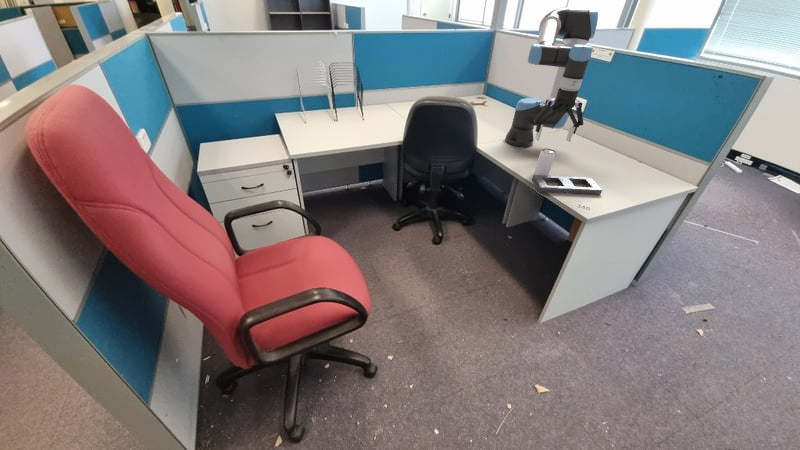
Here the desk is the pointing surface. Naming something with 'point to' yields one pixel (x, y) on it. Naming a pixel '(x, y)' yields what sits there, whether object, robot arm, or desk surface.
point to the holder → (566, 185)
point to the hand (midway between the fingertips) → (552, 140)
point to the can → (545, 162)
